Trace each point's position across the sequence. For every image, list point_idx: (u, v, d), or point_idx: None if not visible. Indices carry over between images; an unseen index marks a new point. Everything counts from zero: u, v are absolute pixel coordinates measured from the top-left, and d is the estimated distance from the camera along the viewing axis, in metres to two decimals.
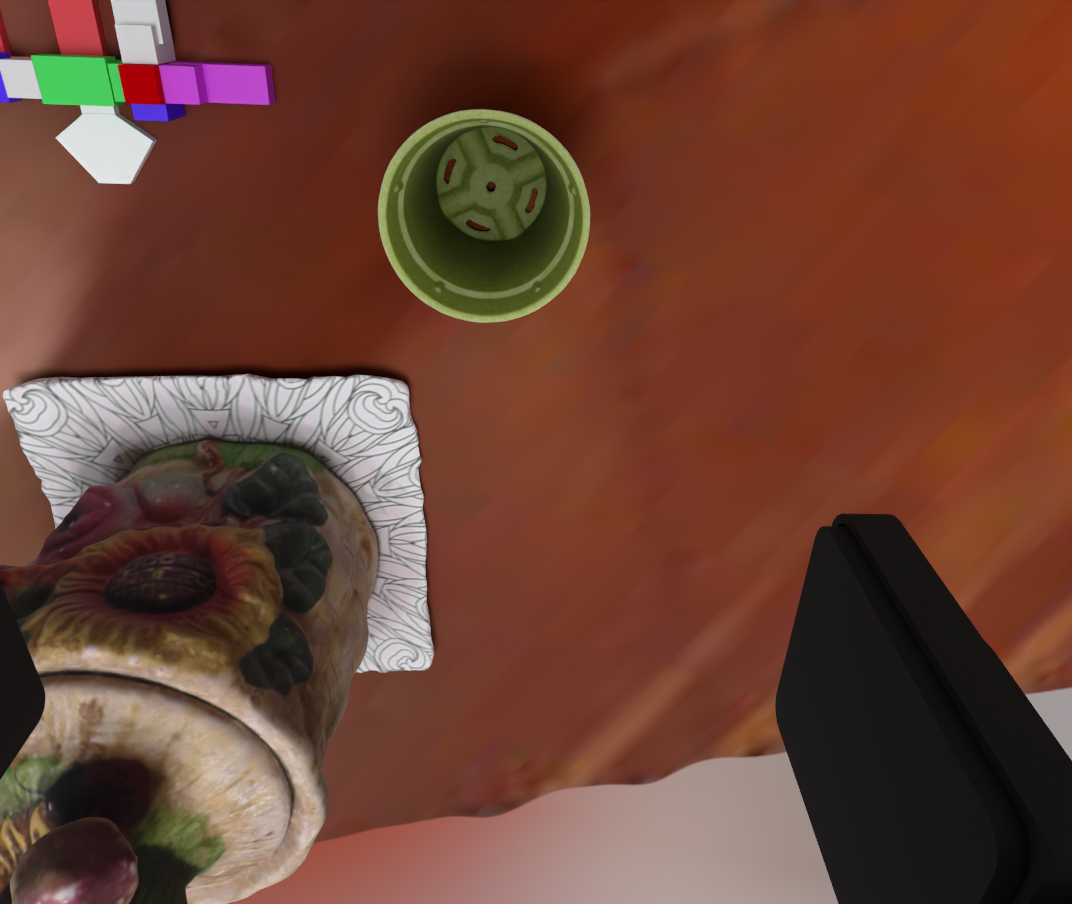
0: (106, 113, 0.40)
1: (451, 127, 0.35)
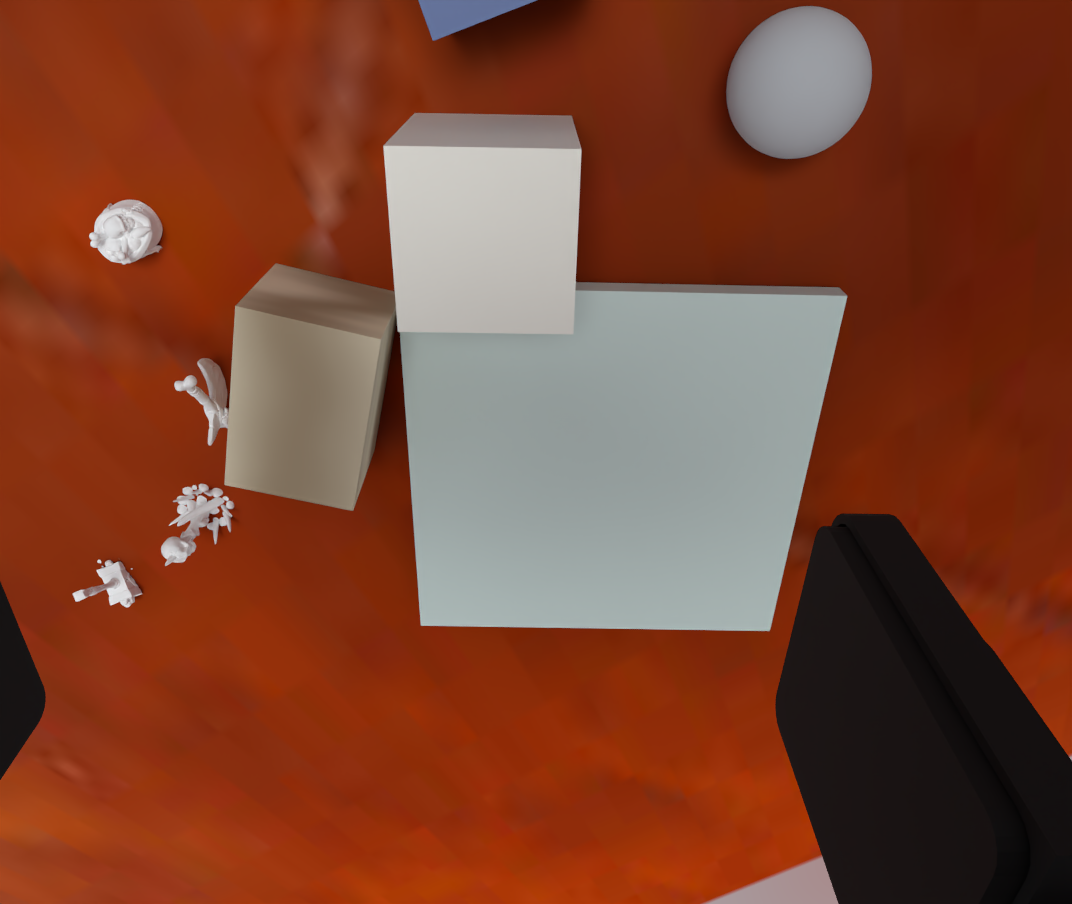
0: None
1: None
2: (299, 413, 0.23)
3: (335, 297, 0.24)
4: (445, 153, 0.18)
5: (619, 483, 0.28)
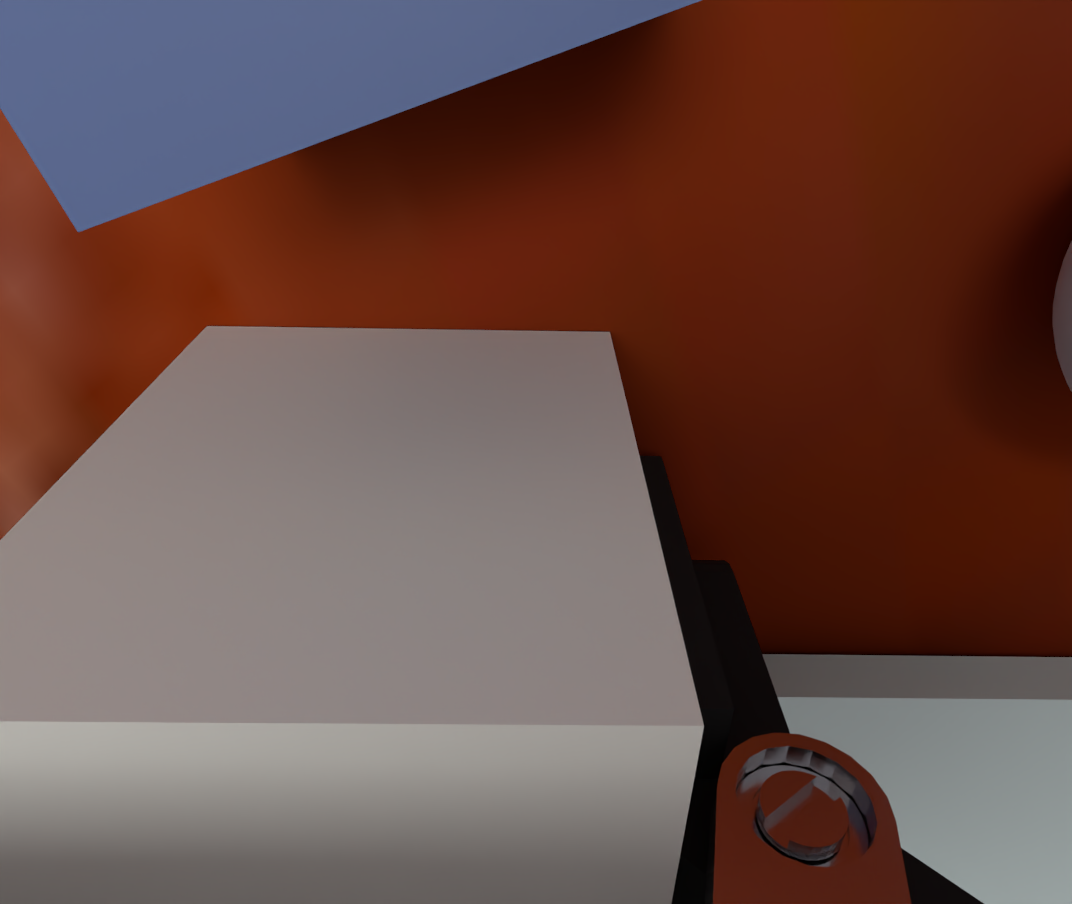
0: None
1: None
2: None
3: None
4: (112, 743, 0.04)
5: None
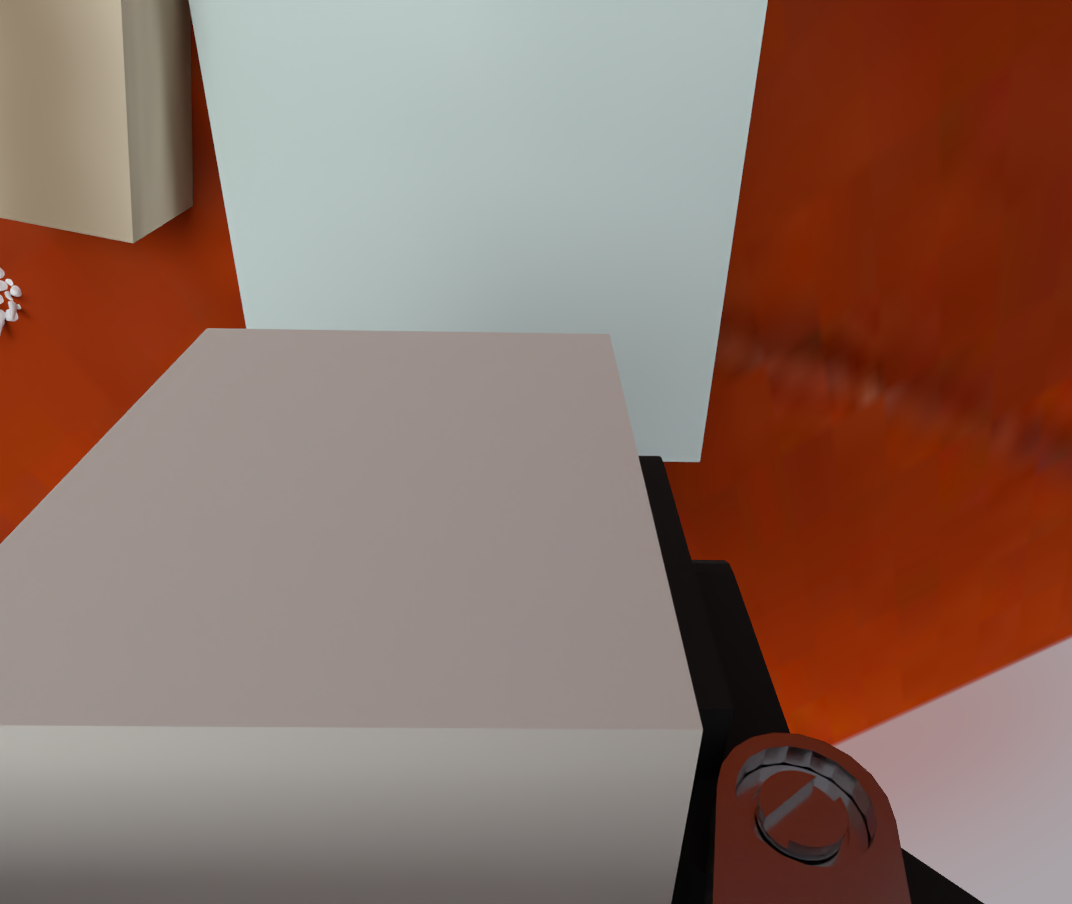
0: None
1: None
2: (31, 86, 0.17)
3: None
4: (111, 746, 0.04)
5: (497, 248, 0.22)
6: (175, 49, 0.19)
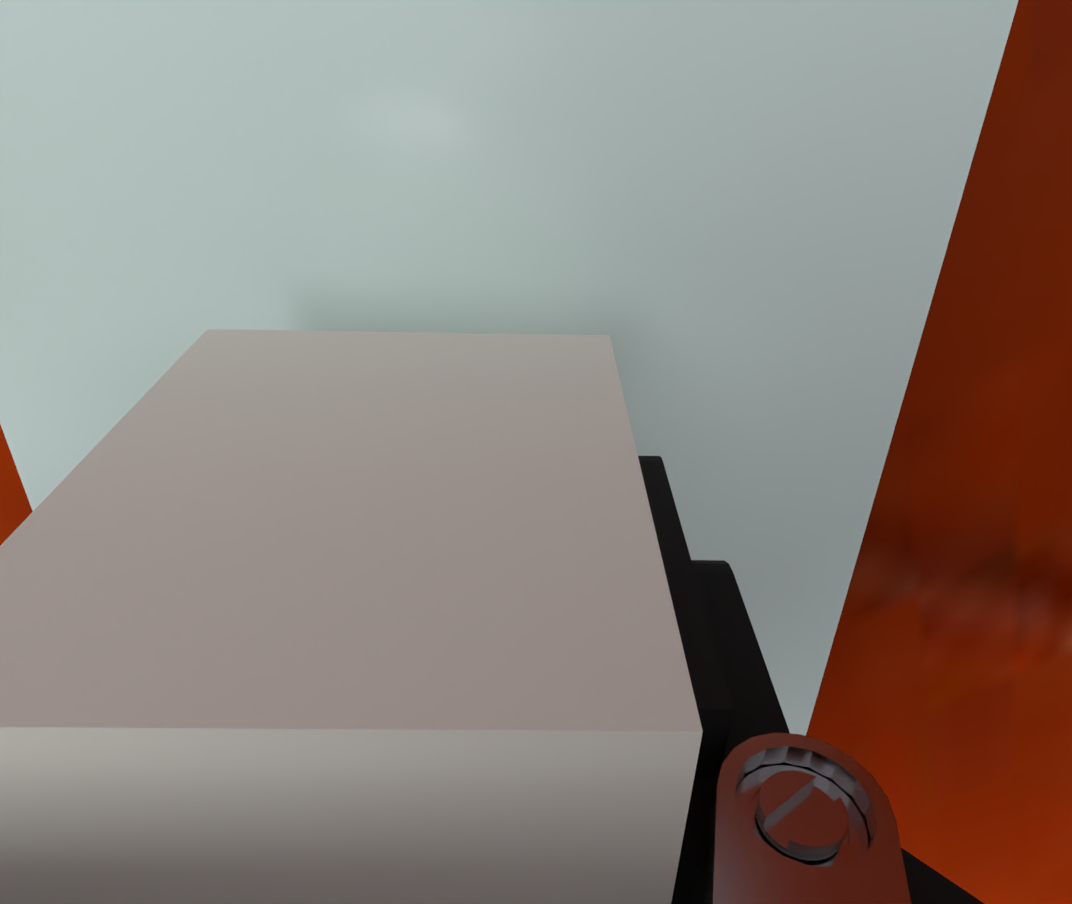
0: None
1: None
2: None
3: None
4: (112, 750, 0.04)
5: None
6: None
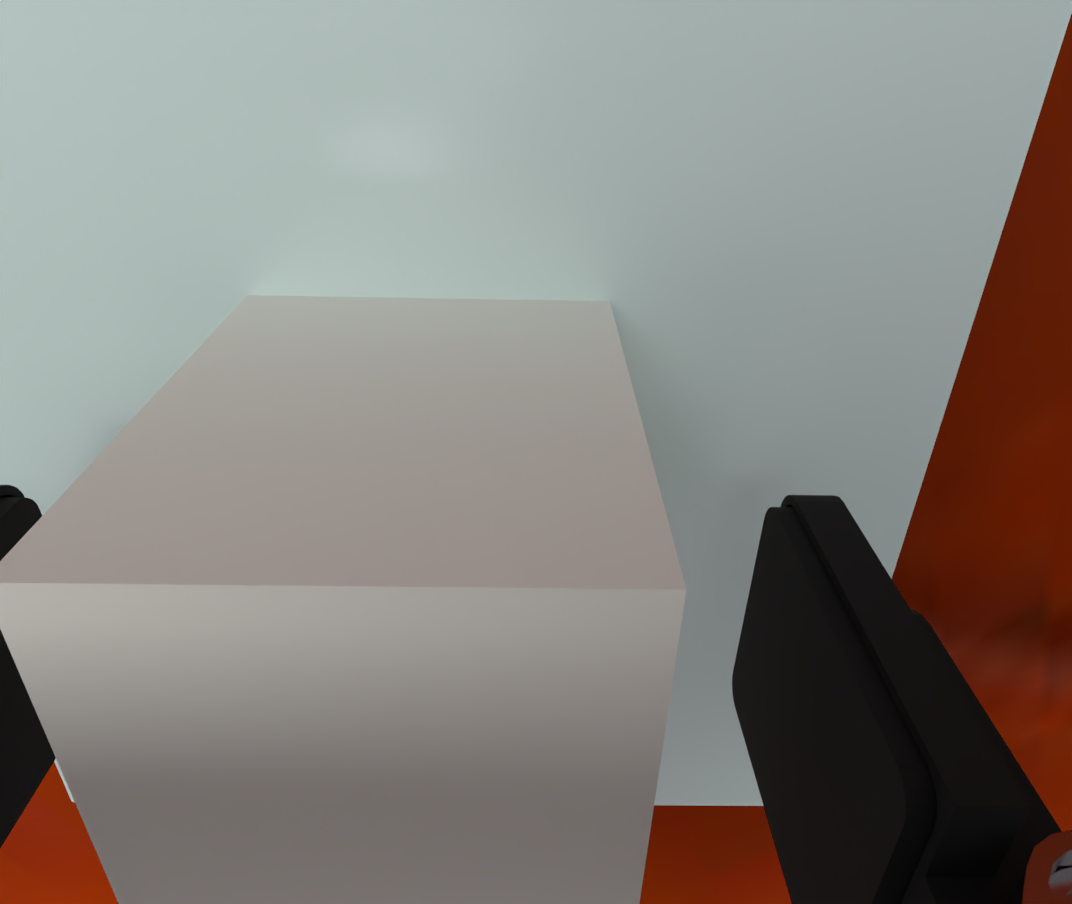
0: None
1: None
2: None
3: None
4: (207, 604, 0.05)
5: None
6: None
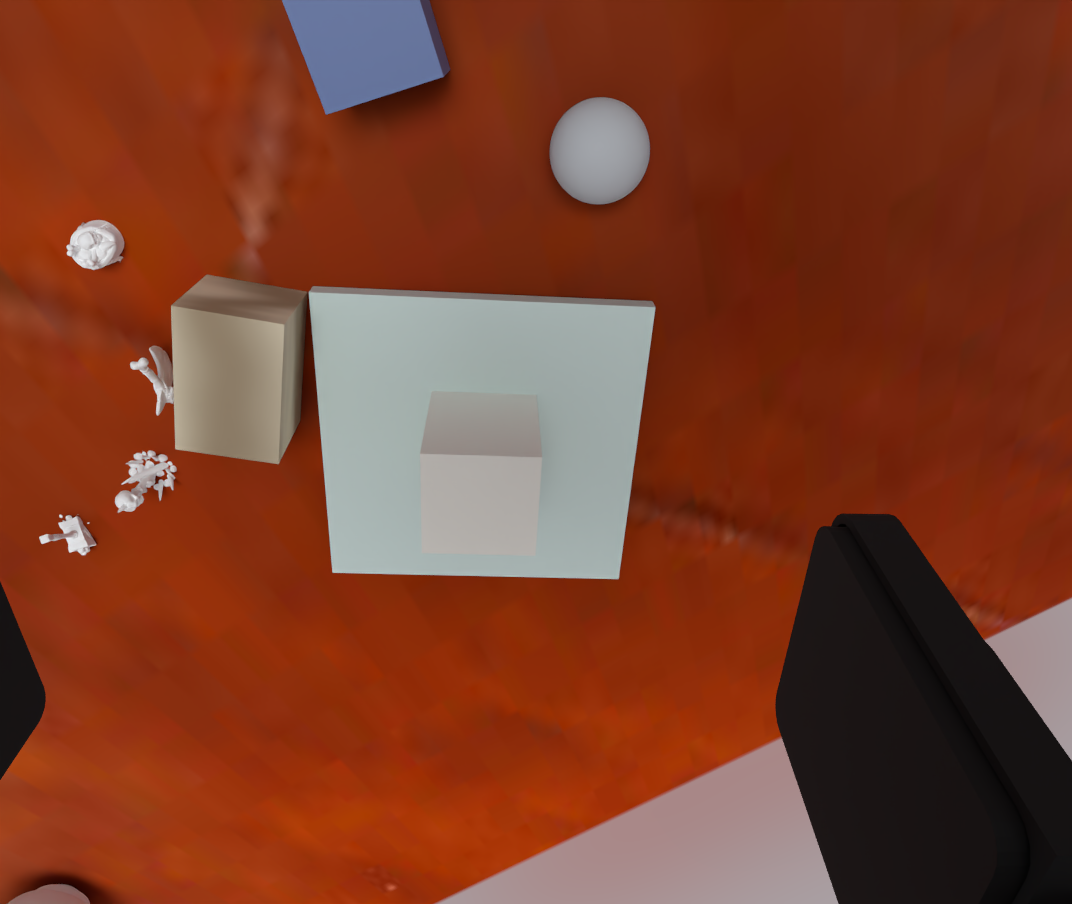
0: None
1: None
2: (227, 386, 0.30)
3: (252, 296, 0.31)
4: (458, 458, 0.29)
5: None
6: (299, 344, 0.32)
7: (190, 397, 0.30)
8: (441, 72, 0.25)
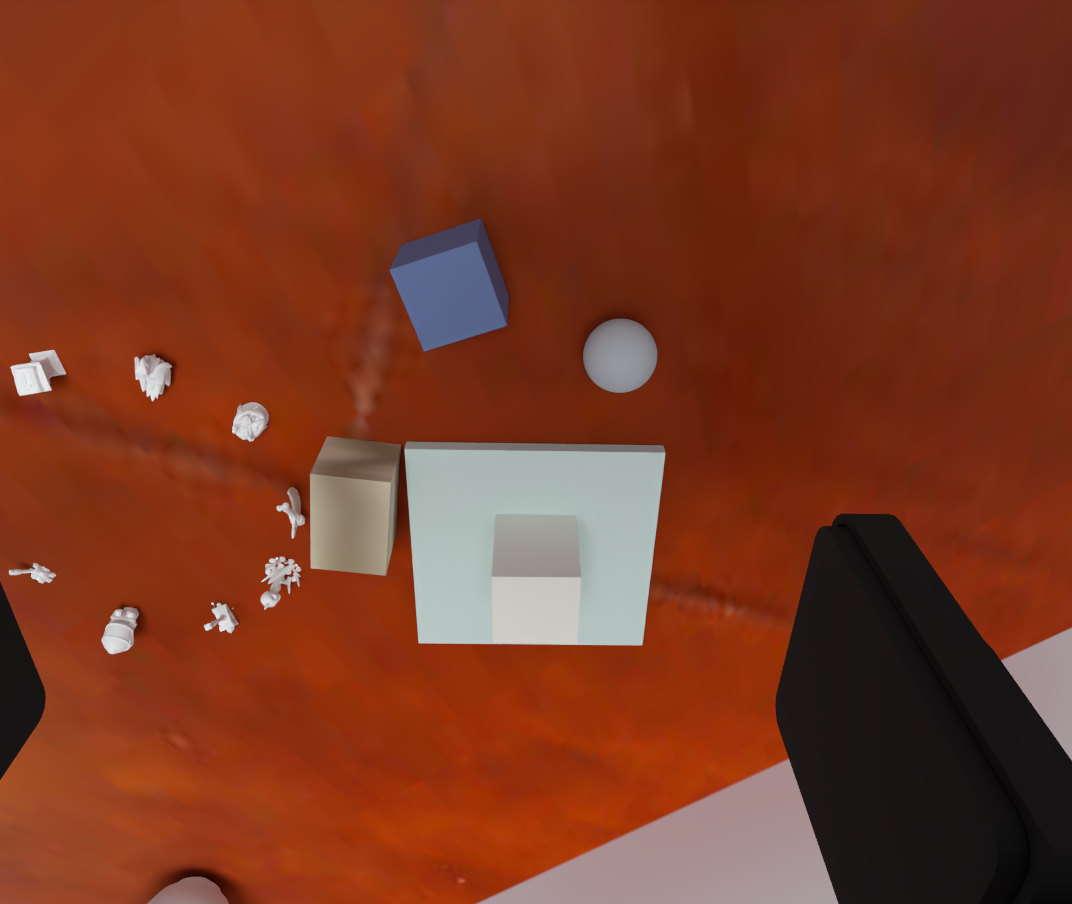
0: None
1: None
2: (349, 525, 0.41)
3: (362, 455, 0.41)
4: (519, 579, 0.40)
5: None
6: (396, 484, 0.43)
7: (322, 533, 0.41)
8: (505, 323, 0.35)
